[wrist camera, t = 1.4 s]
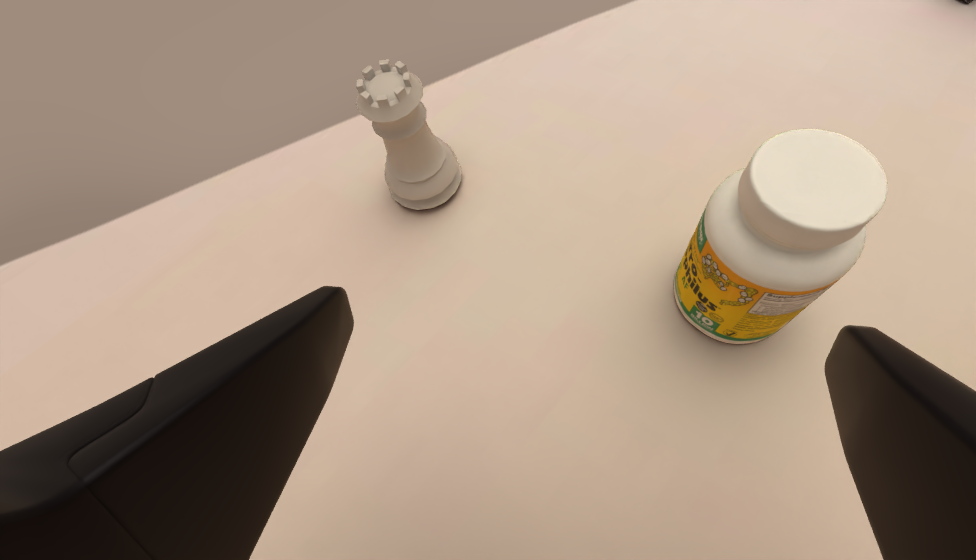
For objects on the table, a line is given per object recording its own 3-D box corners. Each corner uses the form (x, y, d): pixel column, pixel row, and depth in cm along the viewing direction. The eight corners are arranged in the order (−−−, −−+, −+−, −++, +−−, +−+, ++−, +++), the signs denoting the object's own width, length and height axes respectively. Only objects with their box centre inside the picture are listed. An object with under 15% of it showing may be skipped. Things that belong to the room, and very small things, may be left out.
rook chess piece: (377, 180, 30) (319, 79, 23) (436, 140, 31) (398, 30, 24) (416, 228, 28) (365, 134, 21) (478, 185, 29) (449, 79, 22)
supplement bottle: (804, 339, 23) (950, 239, 14) (686, 353, 23) (757, 263, 15) (767, 238, 25) (873, 99, 16) (660, 253, 26) (708, 125, 17)
